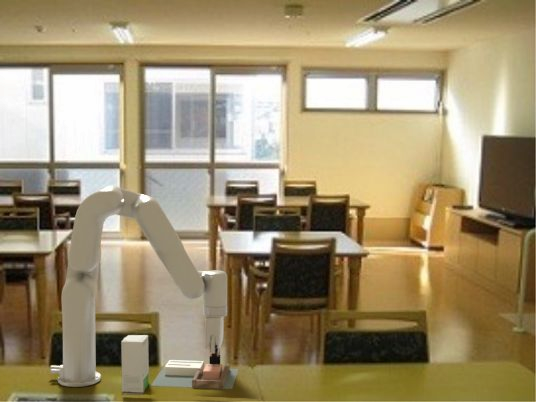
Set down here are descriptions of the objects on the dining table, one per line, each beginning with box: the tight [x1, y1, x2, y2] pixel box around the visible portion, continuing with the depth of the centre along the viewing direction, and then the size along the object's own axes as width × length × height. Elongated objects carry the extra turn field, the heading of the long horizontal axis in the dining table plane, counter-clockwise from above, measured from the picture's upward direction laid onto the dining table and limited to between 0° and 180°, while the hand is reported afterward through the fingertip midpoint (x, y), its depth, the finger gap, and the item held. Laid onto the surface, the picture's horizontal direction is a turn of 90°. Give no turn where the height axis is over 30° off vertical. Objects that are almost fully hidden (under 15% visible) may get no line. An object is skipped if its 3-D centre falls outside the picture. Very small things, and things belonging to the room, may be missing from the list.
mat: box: [150, 365, 240, 390], centre depth 212 cm, size 24×18×1 cm
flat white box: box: [165, 359, 205, 376], centre depth 217 cm, size 11×7×3 cm, turn 86°
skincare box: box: [120, 334, 150, 396], centre depth 202 cm, size 8×7×16 cm
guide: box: [191, 363, 231, 389], centre depth 211 cm, size 9×17×2 cm, turn 176°
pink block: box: [203, 363, 223, 380], centre depth 213 cm, size 5×7×3 cm
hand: (214, 367), depth 219 cm, fingers closed
